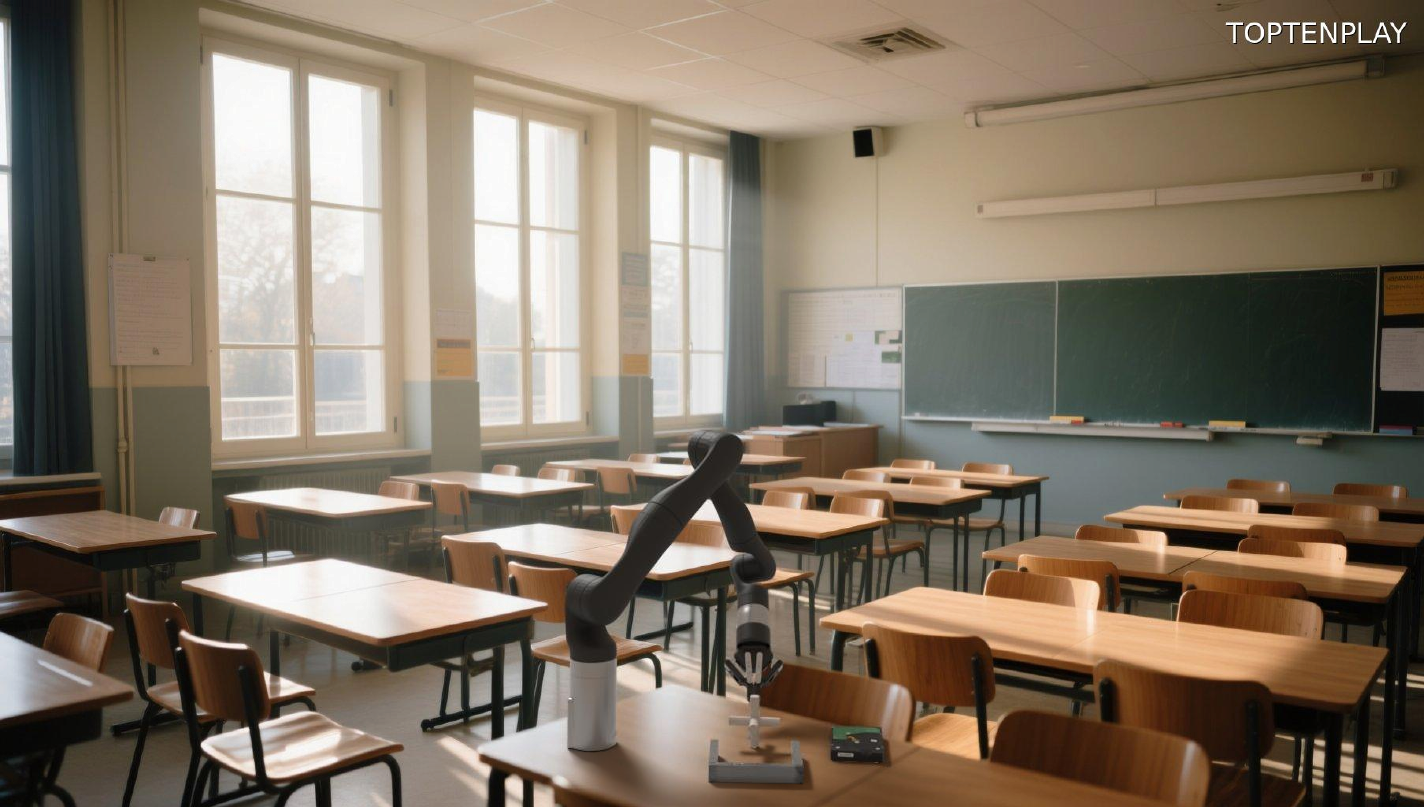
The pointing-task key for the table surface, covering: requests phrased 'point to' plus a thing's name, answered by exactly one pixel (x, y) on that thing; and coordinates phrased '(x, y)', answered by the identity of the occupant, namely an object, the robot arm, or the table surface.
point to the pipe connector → (754, 721)
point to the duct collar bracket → (756, 769)
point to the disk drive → (857, 744)
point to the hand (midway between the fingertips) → (753, 702)
